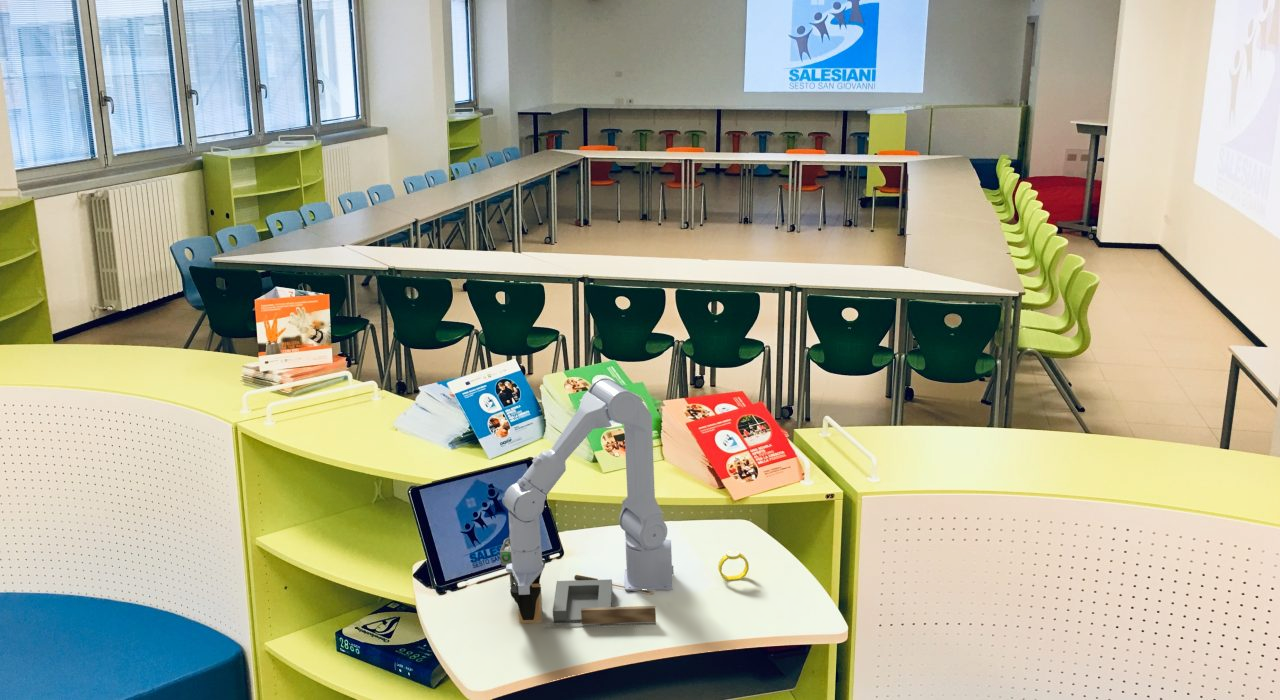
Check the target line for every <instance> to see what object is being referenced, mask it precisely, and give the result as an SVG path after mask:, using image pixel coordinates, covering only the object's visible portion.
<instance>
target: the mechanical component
mask: <svg viewBox="0 0 1280 700" xmlns="http://www.w3.org/2000/svg"><path fill="white" fill-rule="evenodd" d="M499 559H500V565H501V566H503V567H506V565H507V564H511V563H512V557H511V544H510V533H509V535H508V537H507V538H505V539H504V540H503V544H502V546H501V547H500V550H499ZM508 573H509V582H510V583H509V585H510V587H511V586H518V583H517V581H516V579H515V577H514V575H513V573H512V572H508Z"/></svg>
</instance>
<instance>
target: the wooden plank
mask: <svg viewBox="0 0 1280 700" xmlns="http://www.w3.org/2000/svg"><path fill="white" fill-rule="evenodd" d="M656 614H657V613H656V605H642V606H612V607H599V608H581V618H582V622H581V623H582V624H605V623H641V622H656V623H657V618H656V617H657V616H656Z"/></svg>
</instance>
